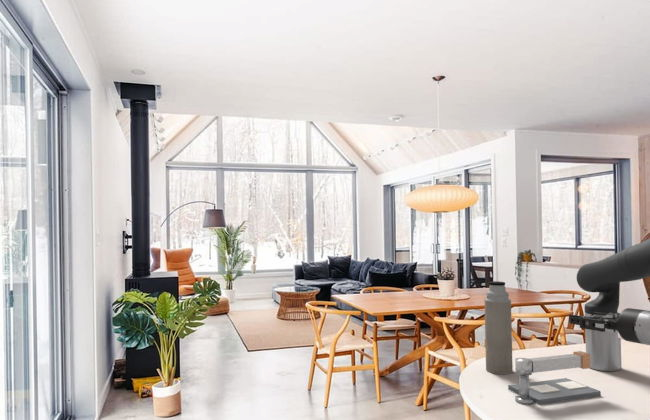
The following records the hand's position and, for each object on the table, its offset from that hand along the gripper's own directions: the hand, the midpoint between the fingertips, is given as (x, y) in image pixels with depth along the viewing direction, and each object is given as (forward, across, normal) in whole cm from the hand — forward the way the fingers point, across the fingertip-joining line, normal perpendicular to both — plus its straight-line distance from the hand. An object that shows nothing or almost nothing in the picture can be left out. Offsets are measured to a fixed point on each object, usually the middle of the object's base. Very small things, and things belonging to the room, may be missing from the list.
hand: (581, 317), depth 122 cm
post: (+10, +10, +22) cm, 26 cm away
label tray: (+12, -3, +22) cm, 25 cm away
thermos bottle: (+34, -5, +22) cm, 40 cm away
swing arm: (+9, +1, +15) cm, 18 cm away
